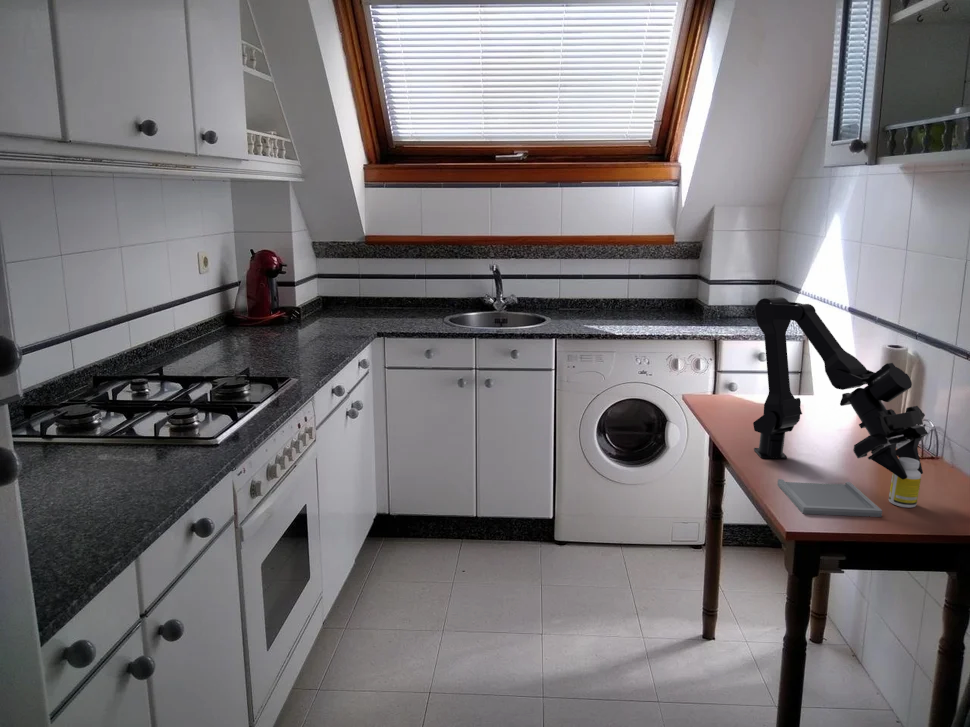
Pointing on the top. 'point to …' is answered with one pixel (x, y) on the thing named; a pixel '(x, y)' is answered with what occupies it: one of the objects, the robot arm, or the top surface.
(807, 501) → the gray tray
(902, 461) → the supplement bottle
